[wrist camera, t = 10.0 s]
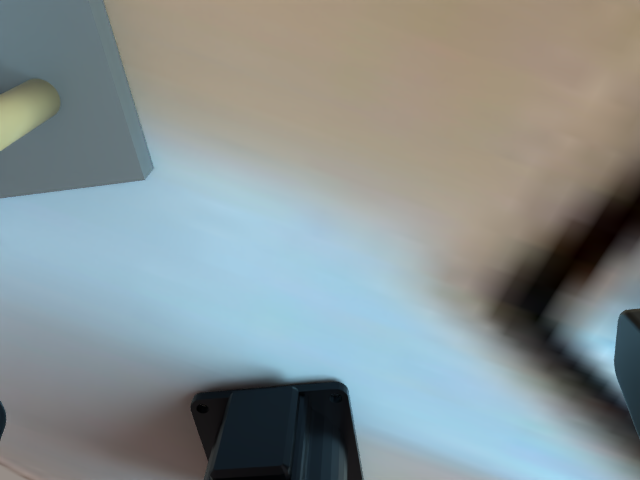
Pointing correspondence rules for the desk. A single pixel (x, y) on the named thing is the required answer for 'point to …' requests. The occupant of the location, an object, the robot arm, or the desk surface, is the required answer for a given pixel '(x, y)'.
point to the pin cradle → (64, 100)
